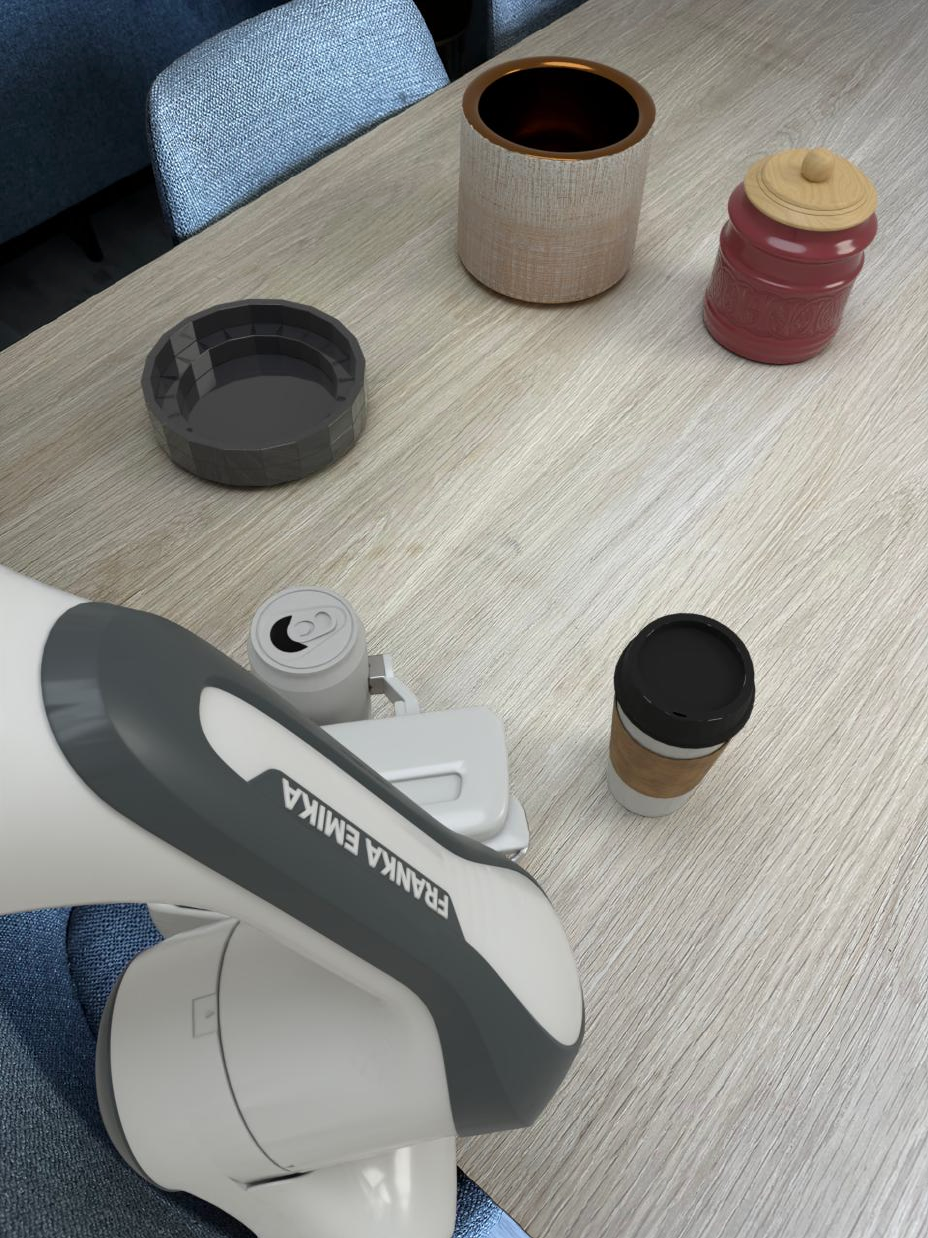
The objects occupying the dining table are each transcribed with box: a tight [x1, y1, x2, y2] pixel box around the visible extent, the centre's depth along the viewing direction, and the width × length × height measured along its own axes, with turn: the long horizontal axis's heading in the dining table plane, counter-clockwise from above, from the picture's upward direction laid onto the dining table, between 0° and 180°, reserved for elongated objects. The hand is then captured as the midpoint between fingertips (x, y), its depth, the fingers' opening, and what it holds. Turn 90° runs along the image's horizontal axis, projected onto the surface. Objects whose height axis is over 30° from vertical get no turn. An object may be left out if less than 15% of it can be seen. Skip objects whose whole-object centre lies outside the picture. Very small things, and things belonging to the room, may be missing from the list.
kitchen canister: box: [702, 146, 879, 365], centre depth 93 cm, size 13×13×18 cm
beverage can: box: [246, 585, 374, 726], centre depth 59 cm, size 6×6×12 cm
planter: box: [456, 55, 657, 305], centre depth 99 cm, size 18×18×16 cm
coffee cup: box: [606, 612, 757, 818], centre depth 66 cm, size 8×8×15 cm
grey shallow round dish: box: [140, 298, 369, 487], centre depth 89 cm, size 19×19×5 cm
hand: (311, 668), depth 59 cm, fingers closed on beverage can, 6 cm apart
